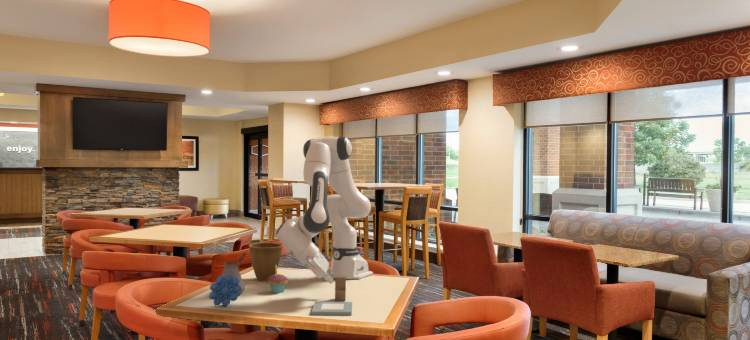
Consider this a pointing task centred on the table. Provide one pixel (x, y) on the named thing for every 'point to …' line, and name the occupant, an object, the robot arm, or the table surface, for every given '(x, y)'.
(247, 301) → the table surface
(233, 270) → the coffee pot
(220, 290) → the grapes
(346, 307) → the plate
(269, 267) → the plant pot
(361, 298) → the table surface
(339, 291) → the walnut block
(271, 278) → the cupcake
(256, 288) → the table surface
